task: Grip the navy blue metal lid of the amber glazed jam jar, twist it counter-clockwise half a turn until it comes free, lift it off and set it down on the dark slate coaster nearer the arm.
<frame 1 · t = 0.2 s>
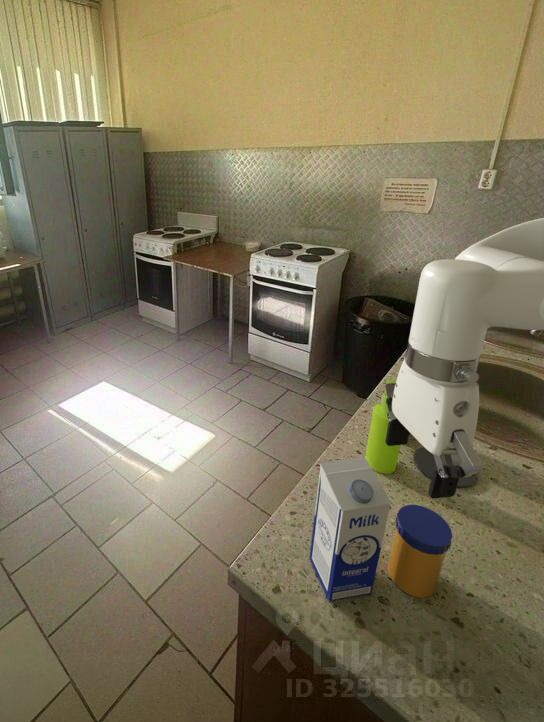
hand: (416, 467, 55), 20 cm above the counter, tool pointing down, fingers open, 9 cm apart
lid: (423, 526, 57), point 10 cm above the counter, screwed on, not yet turned
jar: (410, 575, 61), on the counter
milk carton: (338, 576, 61), on the counter
coaster: (443, 467, 81), on the counter
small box: (394, 430, 93), on the counter
fruit: (482, 287, 185), on the counter
soap dispenser: (382, 464, 83), on the counter
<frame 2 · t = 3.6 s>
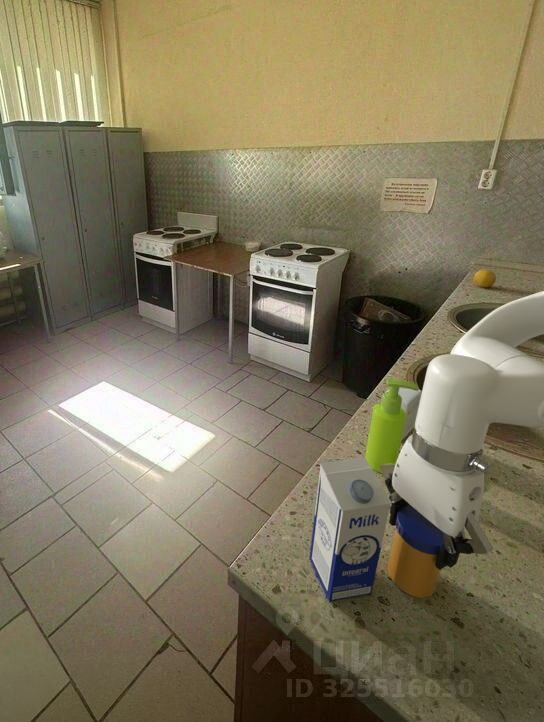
hand: (419, 541, 58), 7 cm above the counter, tool pointing down, fingers closed on lid, 6 cm apart
lid: (423, 526, 57), point 10 cm above the counter, screwed on, not yet turned, touching gripper
everything else where it was.
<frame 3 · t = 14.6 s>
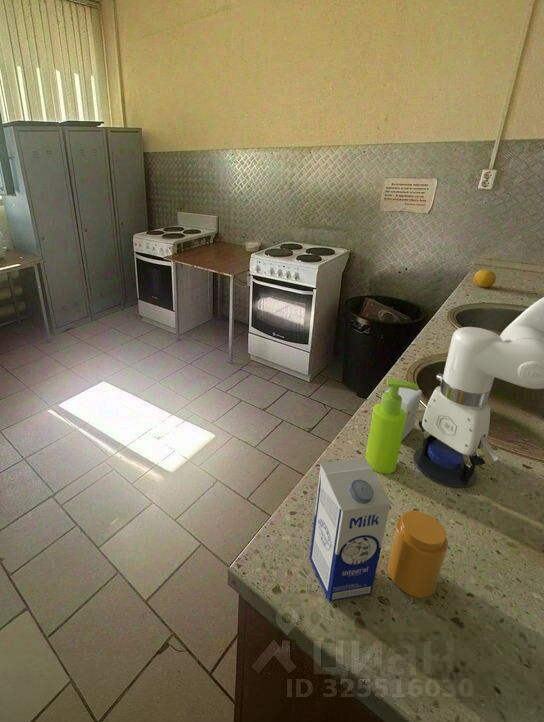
hand: (445, 464, 81), 1 cm above the counter, tool pointing down, fingers closed on lid, 6 cm apart
lid: (448, 452, 80), point 4 cm above the counter, off its thread, touching gripper
everything else where it was.
when the fingers open (2 cm above the counter, at t = 23.5 s): lid drops 3 cm, resting on coaster.
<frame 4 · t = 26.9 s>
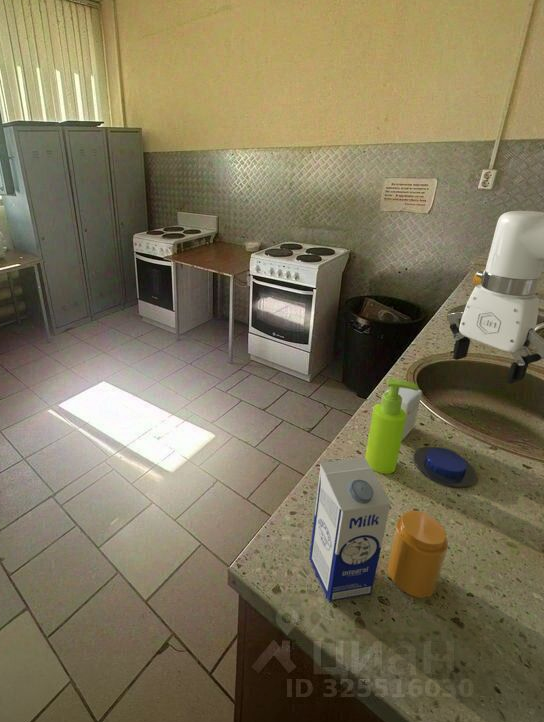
hand: (484, 369, 75), 22 cm above the counter, tool pointing down, fingers open, 9 cm apart
lid: (446, 460, 81), point 2 cm above the counter, off its thread, touching coaster
everything else where it was.
at the end: lid came off its thread; lid 0.1 cm off-centre on the coaster, point 1.9 cm above the coaster's base; the gripper is holding nothing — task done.
